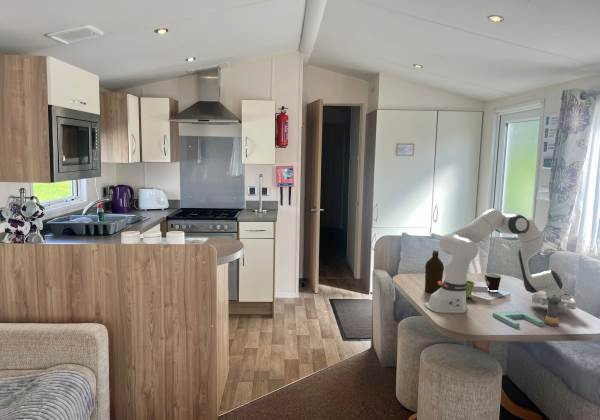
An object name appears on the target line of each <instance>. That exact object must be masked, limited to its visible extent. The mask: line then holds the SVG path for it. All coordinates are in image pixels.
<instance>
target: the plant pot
mask: <svg viewBox="0 0 600 420" xmlns="http://www.w3.org/2000/svg"><path fill="white" fill-rule="evenodd" d="M466 283H467V290H466V299H467V298H468V296H469V295H471V296H472V294H473V289H474V286H475V284H476V283H475V282H474V281H472V280H466ZM468 299H469V298H468Z"/></svg>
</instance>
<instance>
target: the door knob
mask: <svg viewBox="0 0 600 420" xmlns="http://www.w3.org/2000/svg"><path fill="white" fill-rule="evenodd" d="M547 300H548V305H547V312H546V315H545V319H544V320H543V321H544V325H545V326H549V327H555V328H556V327H559V324H560V323H559V308H560V307H559V302H561V299H559V298H556V297H547Z"/></svg>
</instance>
